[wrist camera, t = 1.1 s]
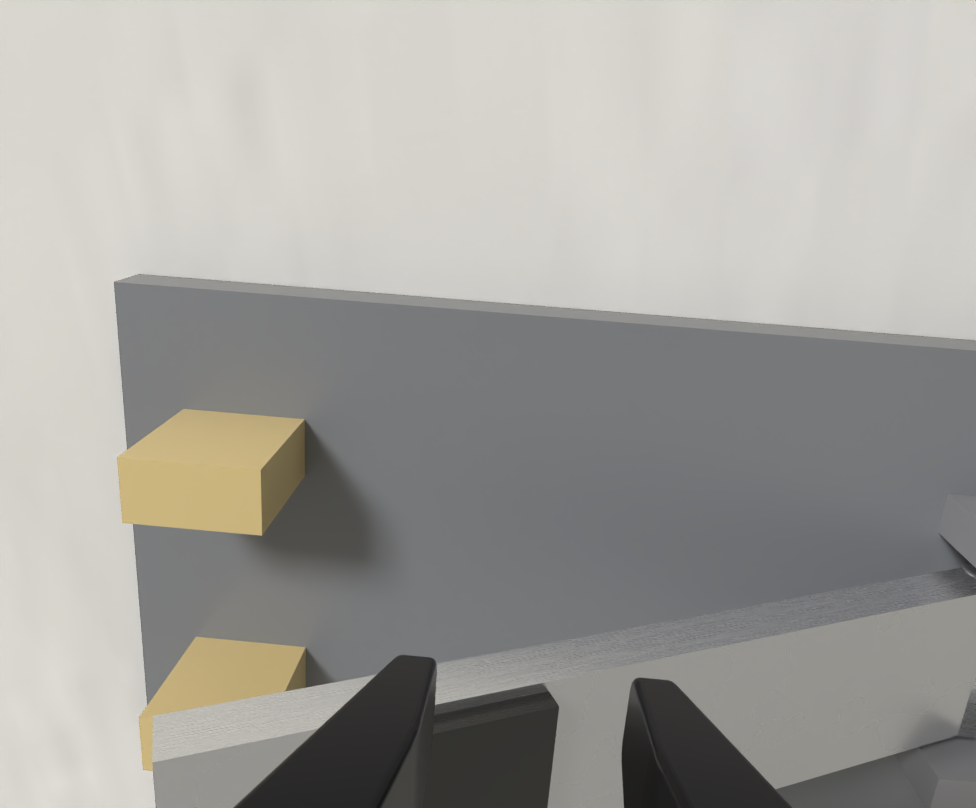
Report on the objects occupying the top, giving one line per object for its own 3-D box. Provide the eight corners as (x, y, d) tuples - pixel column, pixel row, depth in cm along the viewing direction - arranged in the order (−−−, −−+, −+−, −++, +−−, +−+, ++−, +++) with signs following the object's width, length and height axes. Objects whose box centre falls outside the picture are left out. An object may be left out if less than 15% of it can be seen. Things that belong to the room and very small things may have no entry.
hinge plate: (1131, 352, 19) (1302, 411, 14) (977, 817, 23) (1075, 966, 19) (138, 274, 19) (29, 307, 15) (170, 736, 24) (92, 860, 20)
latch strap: (990, 556, 19) (1056, 590, 18) (948, 694, 20) (1007, 736, 19) (153, 707, 12) (151, 783, 11) (167, 902, 13) (168, 992, 12)
